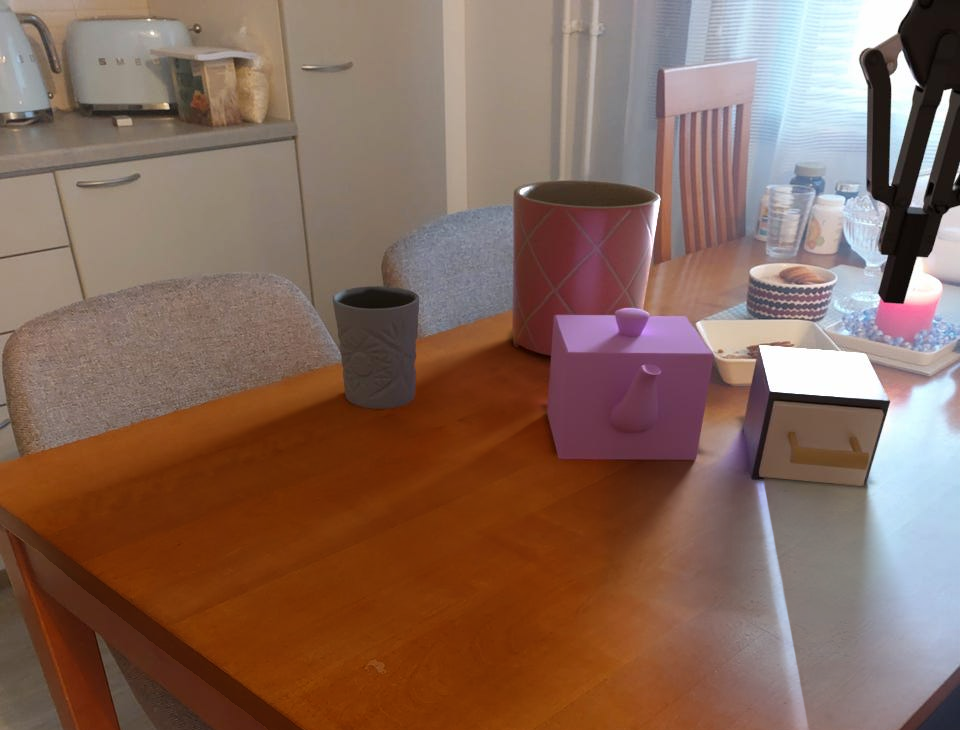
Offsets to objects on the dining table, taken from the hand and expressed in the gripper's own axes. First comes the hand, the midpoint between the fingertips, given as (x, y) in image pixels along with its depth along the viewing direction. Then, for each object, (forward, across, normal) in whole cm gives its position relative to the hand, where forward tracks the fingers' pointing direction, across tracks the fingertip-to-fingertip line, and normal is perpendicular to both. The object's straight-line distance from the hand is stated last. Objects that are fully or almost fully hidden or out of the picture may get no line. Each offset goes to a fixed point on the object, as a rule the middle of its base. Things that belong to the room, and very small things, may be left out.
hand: (890, 298), depth 74 cm
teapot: (+23, -20, +20) cm, 36 cm away
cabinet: (+22, 0, +20) cm, 30 cm away
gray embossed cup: (+23, -50, +27) cm, 61 cm away
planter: (+23, -28, +52) cm, 63 cm away
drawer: (+22, 0, +15) cm, 26 cm away
